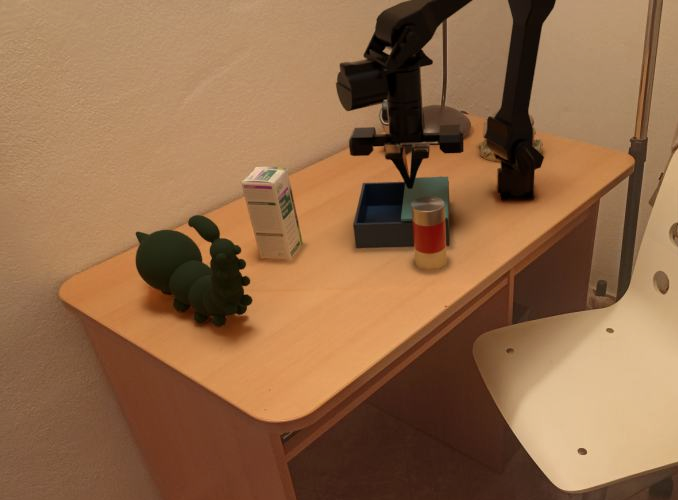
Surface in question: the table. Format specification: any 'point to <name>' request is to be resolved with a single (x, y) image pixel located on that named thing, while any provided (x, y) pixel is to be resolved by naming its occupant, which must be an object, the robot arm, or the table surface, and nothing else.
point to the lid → (425, 193)
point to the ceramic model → (489, 154)
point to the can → (429, 232)
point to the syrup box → (272, 212)
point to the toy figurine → (195, 271)
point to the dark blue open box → (384, 217)
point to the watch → (386, 130)
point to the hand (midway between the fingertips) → (410, 187)
